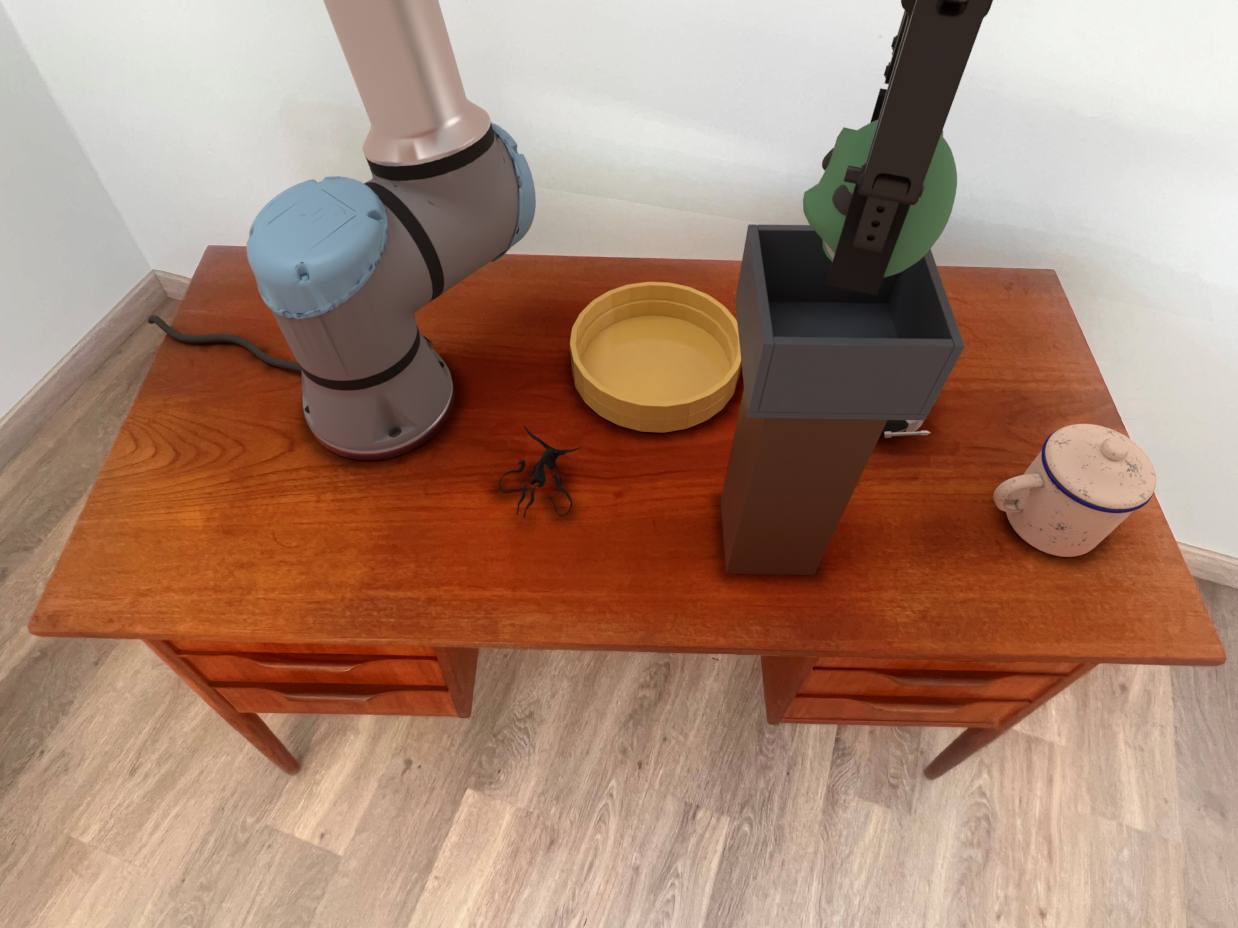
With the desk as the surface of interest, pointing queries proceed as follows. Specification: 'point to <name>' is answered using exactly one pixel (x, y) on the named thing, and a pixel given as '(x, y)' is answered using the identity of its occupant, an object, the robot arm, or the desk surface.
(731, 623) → the desk surface
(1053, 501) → the teacup with lid
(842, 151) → the alien toy
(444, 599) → the desk surface
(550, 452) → the creature
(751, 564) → the bin
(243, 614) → the desk surface
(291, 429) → the desk surface
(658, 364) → the bowl
